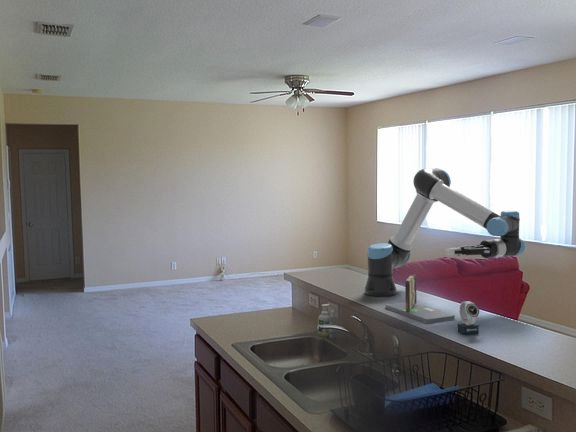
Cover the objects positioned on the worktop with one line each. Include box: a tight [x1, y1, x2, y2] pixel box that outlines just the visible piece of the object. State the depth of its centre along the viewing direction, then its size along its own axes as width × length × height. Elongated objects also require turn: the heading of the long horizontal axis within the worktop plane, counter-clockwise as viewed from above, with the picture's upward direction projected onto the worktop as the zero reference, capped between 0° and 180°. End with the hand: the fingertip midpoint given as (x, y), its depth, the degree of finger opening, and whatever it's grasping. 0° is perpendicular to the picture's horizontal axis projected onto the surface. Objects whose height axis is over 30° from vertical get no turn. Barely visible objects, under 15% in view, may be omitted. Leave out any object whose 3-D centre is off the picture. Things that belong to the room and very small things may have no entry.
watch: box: [457, 300, 480, 336], centre depth 190 cm, size 6×8×11 cm
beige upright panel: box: [404, 274, 417, 311], centre depth 222 cm, size 15×3×12 cm, turn 158°
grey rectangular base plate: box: [385, 301, 456, 324], centre depth 219 cm, size 28×13×2 cm, turn 23°
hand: (446, 252), depth 220 cm, fingers closed
